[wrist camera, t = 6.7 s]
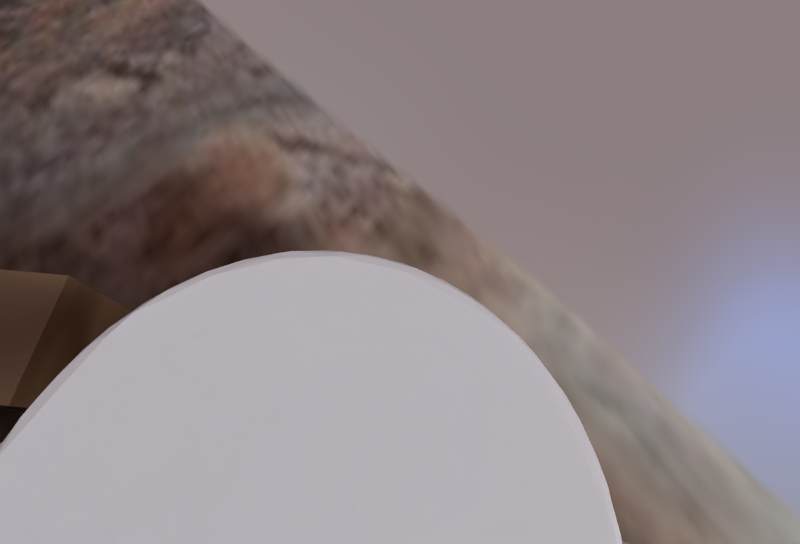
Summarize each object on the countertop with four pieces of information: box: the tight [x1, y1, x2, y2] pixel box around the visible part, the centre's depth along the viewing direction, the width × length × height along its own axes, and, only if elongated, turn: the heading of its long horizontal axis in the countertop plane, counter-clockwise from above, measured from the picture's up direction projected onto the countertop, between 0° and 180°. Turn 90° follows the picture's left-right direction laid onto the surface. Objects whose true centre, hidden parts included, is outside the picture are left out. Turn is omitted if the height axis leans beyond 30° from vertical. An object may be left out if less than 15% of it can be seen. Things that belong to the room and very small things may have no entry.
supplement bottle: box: [0, 250, 622, 544], centre depth 8 cm, size 7×7×13 cm
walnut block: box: [0, 269, 133, 408], centre depth 13 cm, size 4×4×4 cm
